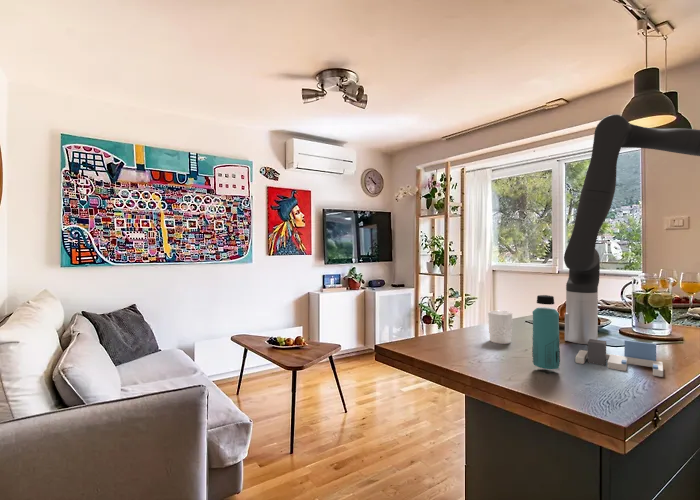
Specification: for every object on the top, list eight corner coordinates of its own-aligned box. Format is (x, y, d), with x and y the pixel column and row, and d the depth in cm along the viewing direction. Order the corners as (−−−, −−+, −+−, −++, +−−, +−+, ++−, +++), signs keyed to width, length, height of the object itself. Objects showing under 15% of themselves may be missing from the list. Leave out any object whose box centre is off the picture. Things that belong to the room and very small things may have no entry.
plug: (587, 362, 105) (587, 341, 105) (589, 359, 108) (589, 338, 108) (604, 365, 103) (604, 344, 103) (606, 362, 106) (606, 341, 106)
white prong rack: (575, 362, 105) (575, 341, 105) (580, 354, 114) (580, 334, 113) (663, 377, 94) (663, 353, 93) (662, 366, 102) (662, 344, 102)
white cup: (514, 340, 130) (514, 311, 130) (510, 345, 124) (510, 315, 124) (490, 337, 135) (490, 309, 134) (485, 342, 128) (485, 313, 128)
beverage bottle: (559, 377, 94) (559, 297, 94) (530, 372, 97) (530, 295, 97) (560, 369, 100) (560, 294, 99) (533, 365, 103) (533, 293, 103)
